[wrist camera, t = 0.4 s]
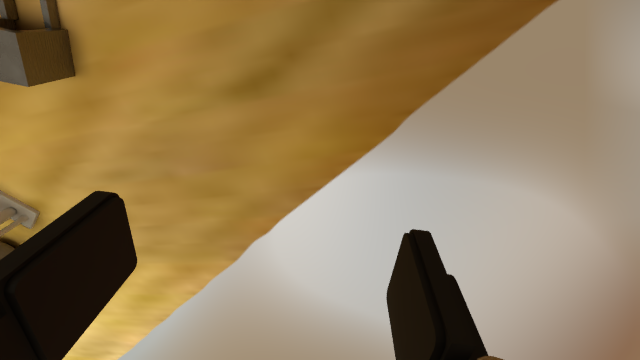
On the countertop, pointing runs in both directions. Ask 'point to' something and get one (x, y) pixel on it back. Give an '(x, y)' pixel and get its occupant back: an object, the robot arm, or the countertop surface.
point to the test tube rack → (16, 213)
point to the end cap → (34, 55)
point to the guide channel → (4, 5)
